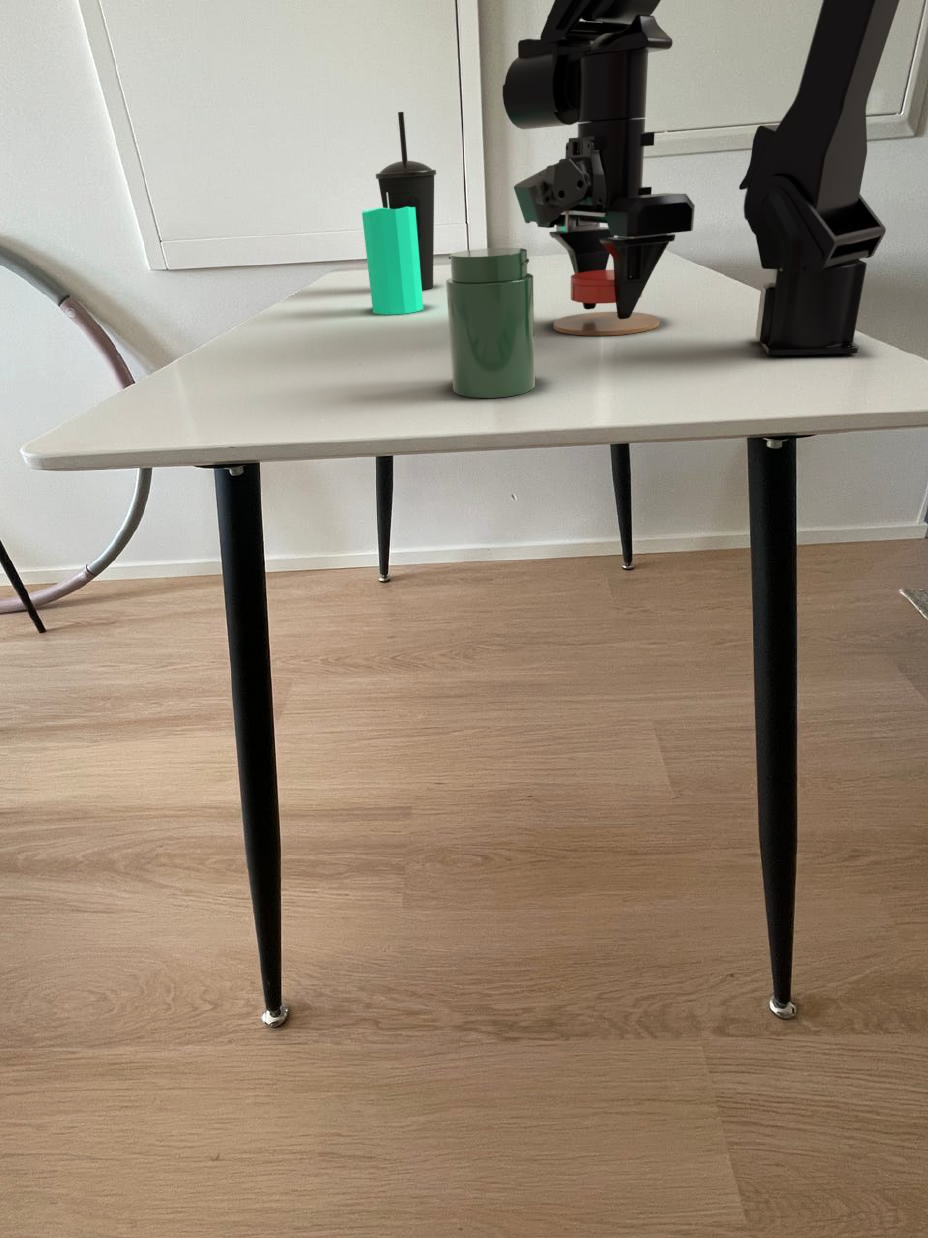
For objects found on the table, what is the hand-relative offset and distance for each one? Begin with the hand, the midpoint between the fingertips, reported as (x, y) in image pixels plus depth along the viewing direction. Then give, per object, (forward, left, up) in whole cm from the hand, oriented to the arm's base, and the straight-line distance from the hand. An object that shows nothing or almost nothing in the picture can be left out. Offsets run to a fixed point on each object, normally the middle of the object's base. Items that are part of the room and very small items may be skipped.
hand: (605, 313), depth 76 cm
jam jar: (+8, +23, -1) cm, 24 cm away
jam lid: (0, 0, +3) cm, 3 cm away
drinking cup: (+26, -30, -1) cm, 40 cm away
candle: (+24, -13, -1) cm, 27 cm away
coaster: (0, 0, -1) cm, 1 cm away
